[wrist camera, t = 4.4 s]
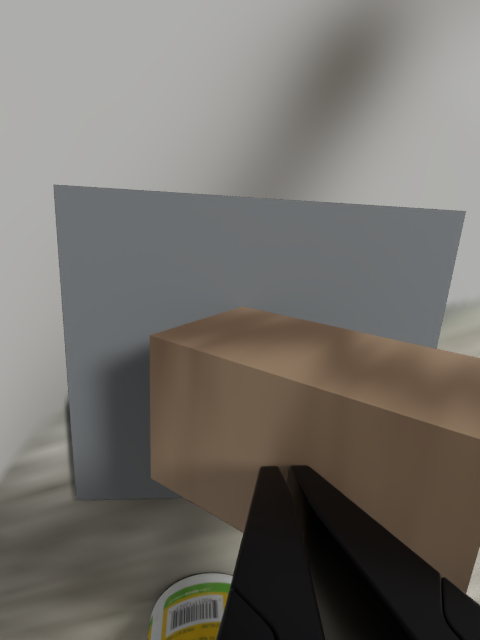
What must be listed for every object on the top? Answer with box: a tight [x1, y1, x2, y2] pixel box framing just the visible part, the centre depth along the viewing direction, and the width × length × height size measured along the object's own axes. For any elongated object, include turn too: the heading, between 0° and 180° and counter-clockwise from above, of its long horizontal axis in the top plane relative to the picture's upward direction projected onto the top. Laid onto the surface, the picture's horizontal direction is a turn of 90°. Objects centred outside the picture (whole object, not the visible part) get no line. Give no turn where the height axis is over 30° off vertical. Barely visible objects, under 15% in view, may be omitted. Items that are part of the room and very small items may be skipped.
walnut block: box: [150, 306, 480, 594], centre depth 11 cm, size 4×4×8 cm
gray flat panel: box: [54, 185, 466, 500], centre depth 15 cm, size 14×12×1 cm
